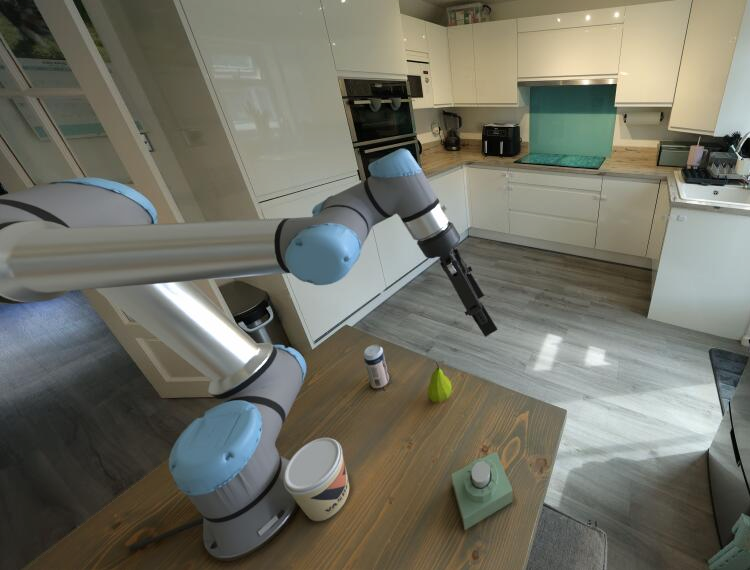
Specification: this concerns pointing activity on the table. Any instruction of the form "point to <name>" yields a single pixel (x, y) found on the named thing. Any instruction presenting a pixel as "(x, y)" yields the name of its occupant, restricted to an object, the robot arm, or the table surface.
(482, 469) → the grey button cap
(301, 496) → the ice cream tub
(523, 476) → the table surface
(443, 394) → the fruit
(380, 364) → the beer can
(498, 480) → the grey button cap base
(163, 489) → the table surface
